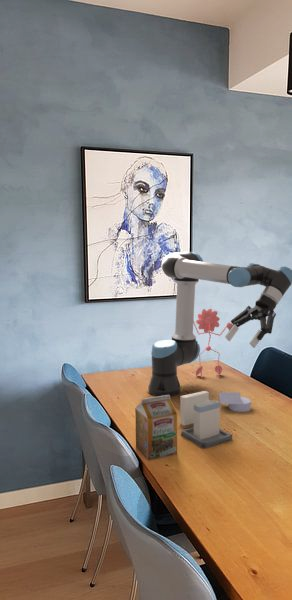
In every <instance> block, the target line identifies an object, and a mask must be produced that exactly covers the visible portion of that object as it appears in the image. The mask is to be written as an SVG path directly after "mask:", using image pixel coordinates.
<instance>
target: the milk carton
mask: <svg viewBox="0 0 292 600" xmlns="http://www.w3.org/2000/svg"><path fill="white" fill-rule="evenodd" d="M134 412H135V448H136V449H137V450H138V452H140V454H141V455H142V456H143V457H144V458H145V459H146V460H147V461H152V460H157V459H158V460H159V459H163V458H166V457H171V456H177V455H178V413H177V409H176V408H175V406H174V403H173V401H172V399H171V396H170V395H164V396H153V397H151V396H150V397H147V398H145V397H144V398H142V399H141V400H140V403H139V404H137V405H136V407H135V411H134Z"/></svg>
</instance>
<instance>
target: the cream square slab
mask: <svg viewBox="0 0 292 600" xmlns="http://www.w3.org/2000/svg"><path fill="white" fill-rule="evenodd" d="M210 398H211V397H210V391H207V390H202V391H198V392H194V393H189V394H185V395H180V422H179V424H180V425H179V427H180V428H182V429H183V430H185V429H189V428H193V427H194V404H197V403H201V402H205V401H209V400H210Z"/></svg>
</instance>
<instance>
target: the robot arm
mask: <svg viewBox="0 0 292 600" xmlns="http://www.w3.org/2000/svg"><path fill="white" fill-rule="evenodd" d="M161 269H162V271H163V273H164V275H165V276H167V277H168V278H170V279H173V281H174V282H175V283H176V300H175V301H176V305H175V328H174V329H175V330H174V333H173V334H172V335H171V339H164V340H159V341H155V342H154V343H153V344H152V347H151V377H150V379H149V380H150V381H149V384H148V393H149V394H150V395H153V396H156V397H158V396H164V395H170V397H171V396H176V395H179V394H180V393H181V389H182V388H181V384H180V383H181V382H180V380H179V378H178V369H177V368H178V367H180V366H182V365H183V366H184V365H186V364H190V363H192V362H194V361H196V360H197V359H198V358H199V354H201V352H200V351H201V346H200V343H199V342H198V340H197V336H196V335H195V334H194V323H193V320H194V315H195V298H196V297H195V296H196V295H195V294H196V293H195V292H196V285H197V283H198V282H199V280H201V281H206V282H207V281H209V282H214V283H221V284H227V285H231V287H235V288H243V287H244V288H245V287H248V286H255V285H260V286H263V287H265V288H264V289H263V290H262V291H261V293H260V295H259V296H258V297H257V299H256V301H255V305H254V307H252V306H250V305H248V306H247V307H245V309H244V310H242V311H241V312H239V314H237V315H236V316H234V318H232V319H231V320H230V323H231V324H232V327H231V328H230V329H228V332H227V334H225V339H226V340H227V341H228V342H231V340H232V339H233V337H234V336H235V335H236V333H237V332H238V331H239V328H240V327H241V326H243V325H244V324H246V323H248V322H250V321H254V320H257V321H259V322H260V329H258V330H257V332H256V333H255V334H254V336H253V338H252V339H251V341H250V342H249V345H250V346H251V348H254V349H255V348H256V347H257V345H258V344H259V343H260V341H262V339H263V338H264V336H265V335H267V334H268V335H269V334H270V335H271V334H272V332H273V326H274V321H275V317H276V316H277V313H276V311H274V310H275V308H276V307H277V305H278V304H279V302H280V301H281V299H282V298H283V296H284V295H285V294H286V292H287V291H288V290H289V288H290V287H291V286H292V269H291V268H290V267H287V266H280V267H278V268H277V270H276V269H272V268H270V267H267V266H265V265H264V266H263V265H261V264H258V263H253V262H251V263H249V264H248V265H246V266H235V265H229V264H220V263H213V262H206V261H204V260H203V258H202V257H201V256H200V255H199V254H198V253H197V252H193V251H184V252H183V251H181V252H171V253H169V254H167V255H165V257H164V258H163V259H162V263H161Z"/></svg>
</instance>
